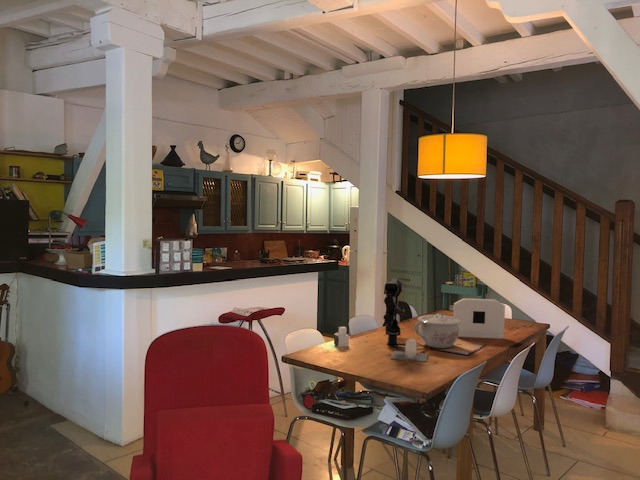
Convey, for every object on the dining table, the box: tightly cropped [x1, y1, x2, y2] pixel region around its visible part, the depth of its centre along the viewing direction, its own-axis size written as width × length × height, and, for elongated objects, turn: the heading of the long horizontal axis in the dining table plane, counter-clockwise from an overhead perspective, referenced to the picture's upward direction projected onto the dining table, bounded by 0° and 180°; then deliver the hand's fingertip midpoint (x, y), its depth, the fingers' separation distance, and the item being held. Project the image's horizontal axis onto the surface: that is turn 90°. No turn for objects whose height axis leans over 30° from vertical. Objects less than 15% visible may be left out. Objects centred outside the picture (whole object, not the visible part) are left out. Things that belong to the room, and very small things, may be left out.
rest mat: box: [390, 350, 429, 363], centre depth 304 cm, size 16×20×1 cm
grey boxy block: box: [453, 297, 506, 340], centre depth 366 cm, size 33×24×26 cm
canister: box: [405, 338, 417, 359], centre depth 300 cm, size 6×6×10 cm
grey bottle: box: [333, 325, 350, 348], centre depth 326 cm, size 7×7×12 cm
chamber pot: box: [414, 312, 462, 349], centre depth 331 cm, size 28×28×21 cm
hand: (390, 328), depth 318 cm, fingers open, 2 cm apart
